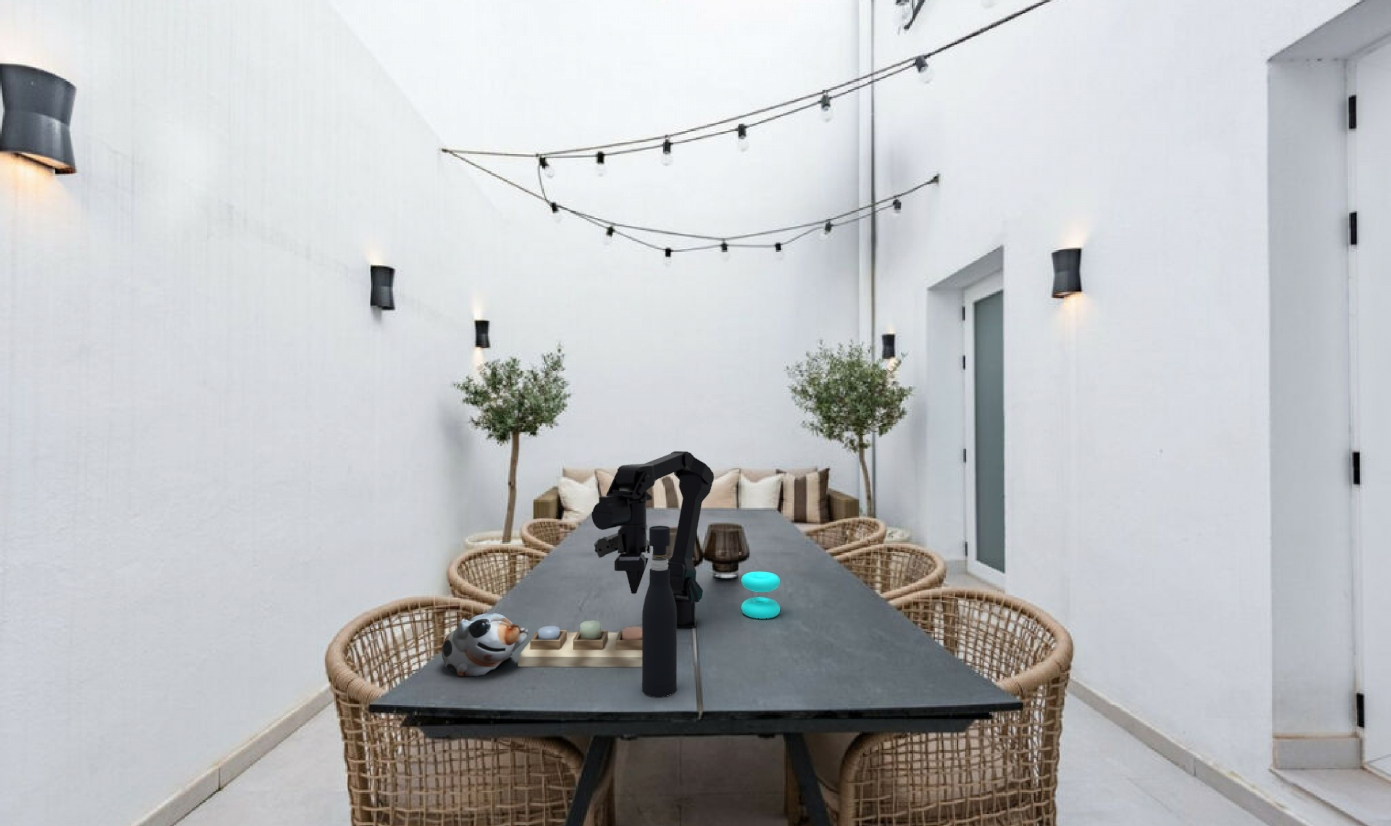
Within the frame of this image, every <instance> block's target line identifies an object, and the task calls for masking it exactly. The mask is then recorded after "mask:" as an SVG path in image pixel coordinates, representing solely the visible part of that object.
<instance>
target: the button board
mask: <svg viewBox="0 0 1391 826" xmlns="http://www.w3.org/2000/svg"><path fill="white" fill-rule="evenodd" d="M622 630H623V629H621V630H620V631H618V632H608V631H609V630H605V629H603V630H602V629H601V636H600V637H599V638H596V639H583V638H581V637H580V629H579V630H578V631H575V632H571V631H570V632H568V630H567V629H565V630H564V629H560V637H559V639H558V640H538V630H537V631H536V632H535V633H534V635H532V637H531V639H530V641H529V642H528V643H527V645H526V646H525V647H523V649H522V651H521V652H520V653H519V655H518V656H517V667H539V668H540V667H541V668H542V667H545V668H546V667H548V668H549V667H553V668H555V667H558V668H560V667H561V668H562V667H563V668H565V667H566V668H567V667H568V668H569V667H571V668H572V667H573V668H576V667H577V668H579V667H580V668H582V667H583V668H584V667H585V668H642V640H622Z"/></svg>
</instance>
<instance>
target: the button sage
mask: <svg viewBox="0 0 1391 826" xmlns="http://www.w3.org/2000/svg"><path fill="white" fill-rule="evenodd" d="M579 628H580V629H579V630H580V637H581V638H583V639H596V638H599V637H600V636H601V630H602V622H601V621H599V620H593V619H592V620H585V621H583V622H581V623H580V627H579Z"/></svg>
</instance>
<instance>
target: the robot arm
mask: <svg viewBox="0 0 1391 826" xmlns="http://www.w3.org/2000/svg"><path fill="white" fill-rule="evenodd" d="M671 474H673V475H674V476H675V477H676V478H677V479H678V480H679V481H678V488H679V491H680V494H681V497H682V501H681V508H680V512H679V518H678V522H677V523H678V524H677V528H676V534H675V538H674V545H673V551H672V555H671V556H670V558H669V559H668V568H669V569H670V586H671V589H672V592H673V595H674V599H675V604H676V610H677V629H678V628H680V629H681V628H685V629H687V628H689V629H690V628H691V629H693V628H694V629H695V628H696V624H697V623H696V621H697V618H696V603H699V602H700V600H702V599H703V592H704V589H703V588H702V587H701V586H700V584H699V583H698V582H697V570H696V567H695V564H694V561H693V556H694V550H695V545H696V538H697V533H698V527H699V521H700V518H701V517H700V516H701V510H702V505H703V501H704V500H705V499H707V497H708V496H709V494H710V493H711V490H712V486H713V483H714V479H715V474H714V472H713V470H712V469H711V467H709V465H707V463H705V462H703V461H701V460H700V459H698V458H696V457H695V456H694V455H693V454H692V453H691V452H689V451H685V450H683V451H682V450H681V451H680V450H673V451H672V452H670V453H669V454H666V455H664V456H661V457H658V458H656V459H653V460H650V461H648V462H645V463H633V464H623V465H620V466H618V468H617V471H616V473H615V474H614V477H613V479H612V481H611V482H610V486H609V488H608V490H607V492H606V494H605V496H604V495H602V496H599V497H598V502H597V503H596V504H595V505H594V507H593V509H592V511H591V520H592V523H593V524H594V526H595V527H596V528H597V529H599V530H600V531H605V530H608V529H613V528H617V527H619V529H618V530H617V533H614V534H610V535H608V536H603V537H602V538H598V539H597V540H596V541H595V543H594V544H593V546H594V553H596V554H597V557H598V559H599V558H604V557H605V556H607V555H609V554H612V553H614V552H617V554H618V555H617V557H615V560H614V561H613V563H614V572H625V573H626V578H627V582H628V586H629V589H630V593H631V594H632V595H636V594H637V593H638V590H639V587H640V584H641V582H642V578H643V577H644V573H645V571H646V567H647V565H648V562H649V558H648V557H646V556H645V554H643V553H647V554H650V553H651V551H652V550H651V549H652V548H651V547H652V546H650V545H649V540H648V539H647V535H648V534H647V531H648V524H647V501H651V500H653V496H652V495H651V494H649V493H648V490H650V489H651V488H652V487H653V486H655V483H656V481H658V480H660V479H661V478H664V477H666V476H668V475H671Z"/></svg>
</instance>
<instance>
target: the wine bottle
mask: <svg viewBox="0 0 1391 826" xmlns="http://www.w3.org/2000/svg"><path fill="white" fill-rule="evenodd" d="M648 530H649V531H648V539H649V540H648V541H649V545H650V546H651V547H652V558H651V560H650V567H651V568H650V569H649V580H648V581H649V584H648V587H647V591H646V594H645V597H644V600H643V606H642V612H641V622H642V623H641V628H642V667H641V685H642V686H641V690H642V691H641V692H644V693H643V694H645V695H647V696H649V695H650V696H649V697H653V696H655V697H654V698H663V697H662V696H664V697H668V696H667V695H669V696H671V695H673V694H675V693H676V692H677V690H678V689H677V687H678V686H677V684H678V683H677V680H678V679H677V678H678V675H677V674H678V671H677V666H678V664H677V662H678V661H677V656H678V655H677V654H678V653H677V652H678V651H677V649H678V648H677V645H678V644H677V643H678V642H677V641H678V640H677V635H678V634H677V633H678V631H677V629H678V628H677V610H676V604H675V599H674V595H673V592H672V589H671V586H670V569H669V568H668V560H669V559H668V558H667V556H668V555H667V547H669V546H671V545H670V544H671V528H670V526H667V525H654V526H649V529H648ZM674 692H675V693H674ZM672 693H673V694H672ZM670 694H671V695H670Z"/></svg>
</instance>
